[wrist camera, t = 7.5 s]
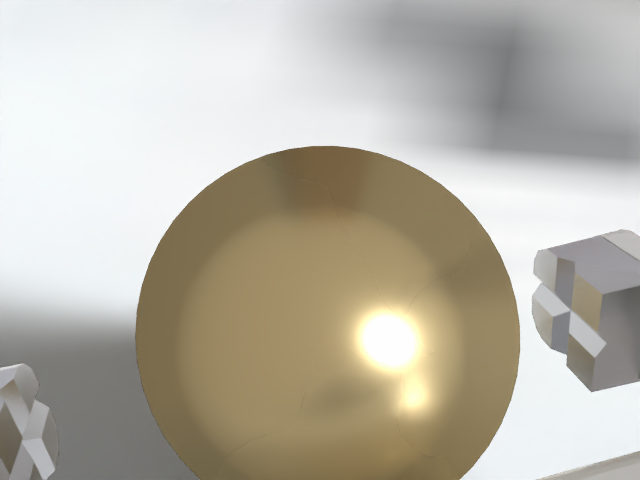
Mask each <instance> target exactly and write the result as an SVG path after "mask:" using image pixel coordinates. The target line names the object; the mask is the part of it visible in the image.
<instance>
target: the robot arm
mask: <svg viewBox="0 0 640 480" xmlns="http://www.w3.org/2000/svg"><path fill="white" fill-rule="evenodd" d="M533 273H534V275H535V276H536V277H537V278H538V279H539V280H540V282H541V284H540V285H539V287H538V288H537V290H536V291H535V293H534V294H533V296H532V315H533V318H534V322H535V325H536V329H537V330H538V332H539V334H540V336H541V338H542V339H543V340H544V342H545V343H546V344H547V345H548V346H549V347H550V348H551V349H553V350H556V351H558V352H561V353H563V354H566V355H567V364H566V366H567V367H568V368H569V369H570V370H571V371H572V372H573V373H574V374H575V375H576V376H577V377H578V379H579V380H580V381H581V382H582V383H583V384H584V385H585V386H586V387H587V388H588V389H589V390H590V391H591V392H594V391H599V390H603V389H608V388H612V387H616V386H621V385H625V384H630V383H634V382H638V381H640V236H638V235H637V234H635V233H633V232H632V231H628V230H618V231H614V232H610V233H606V234H603V235H599V236H595V237H592V238H588V239H584V240H580V241H576V242H572V243H568V244H564V245H560V246H555V247H551V248H547V249H543V250H539V251H538V252H537V254H536V257H535V259H534V272H533ZM38 388H39V383H38V381H37V379H36V377H35V374H34V372H33V370H32V368H31V367H29V366H28V365H26V364H24V363H22V364H17V365H12V366H7V367H2V368H0V480H46V479H47V478H48V477H49V476H50V475H51V474H52V473H53V472H54V471H55V470H56V465H57V460H58V456H59V439H58V431H57V427H56V423H55V419H54V417H53V415H52V412H51V410H50V407H48V406H46V405H44V404H43V403H41V402H39V401H37V400H36V399H35V398H36V394H37V391H38ZM536 480H640V451H638V452H634V453H631V454H627V455H624V456H620V457H616V458H613V459H609V460H605V461H602V462H598V463H594V464H591V465H587V466H583V467H580V468H576V469H572V470H569V471H565V472H561V473H558V474H554V475H551V476H547V477H543V478H540V479H536Z"/></svg>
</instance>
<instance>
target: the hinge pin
mask: <svg viewBox="0 0 640 480" xmlns="http://www.w3.org/2000/svg"><path fill="white" fill-rule="evenodd" d="M135 338H136V351H137V363H138V368H139V372H140V377H141V382H142V386H143V390H144V392H145V395H146V398H147V401H148V403H149V406H150V409H151V412H152V414H153V416H154V418H155V420H156V422H157V424H158V425H159V427H160V429H161V431H162V433H163V435H164V437H165V438H166V440H167V441H168V442H169V444H170V445H171V447H172V448H173V449H174V451H175V452H176V454H177V455H178V456H179V458H180V459H181V460H182V461H183V462H184V463H185V464H186V465H187V466H188V467H189V468H190V470H191V471H192V472H193V473H194V474H195V475H196V476H197V477H198V478H199V479H200V480H459V479H460V478H462V477H463V476H464V475H465V474H466V473H467V472H468V471H469V470H470V469H471V468H472V467H473V466H474V464H475V463H476V462H477V460H478V459H479V458H480V456H481V455H482V454H483V453H484V451H485V450H486V449H487V447H488V446H489V444H490V443H491V441H492V439H493V437H494V436H495V434H496V432H497V430H498V429H499V427H500V425H501V423H502V421H503V418H504V416H505V413H506V411H507V408H508V406H509V403H510V401H511V398H512V394H513V390H514V386H515V382H516V378H517V372H518V364H519V355H520V325H519V318H518V311H517V304H516V299H515V295H514V292H513V288H512V285H511V281H510V278H509V275H508V273H507V270H506V268H505V266H504V263H503V261H502V258H501V256H500V254H499V252H498V251H497V249H496V247H495V245H494V244H493V242H492V240H491V238H490V237H489V235H488V233H487V232H486V231H485V229H484V228H483V227H482V225H481V224H480V223H479V221H478V220H477V219H476V217H475V216H474V215H473V214H472V213H471V212H470V211H469V210H468V209H467V207H466V206H465V205H464V204H463V203H462V202H461V201H460V200H459V199H458V198H457V197H455V196H454V195H453V194H452V193H451V192H449V191H448V190H447V189H446V188H445V187H444V186H442V185H441V184H440V183H438V182H437V181H435V180H434V179H432V178H430V177H429V176H427V175H426V174H424V173H423V172H421V171H419V170H417V169H415V168H413V167H411V166H409V165H407V164H405V163H403V162H401V161H398V160H396V159H393V158H390V157H387V156H384V155H382V154H378V153H374V152H370V151H365V150H361V149H356V148H347V147H338V146H310V147H302V148H294V149H288V150H284V151H280V152H276V153H272V154H268V155H265V156H262V157H260V158H257V159H255V160H252V161H249V162H247V163H245V164H243V165H241V166H239V167H237V168H235V169H233V170H231V171H230V172H228V173H226V174H224V175H223V176H221V177H220V178H219V179H217V180H216V181H214V182H213V183H211V184H210V185H209V186H207V187H206V188H205V189H204V190H203V191H201V192H200V193H199V194H198V195H197V196H196V197H195V198H194V199H193V200H191V201H190V202H189V203H188V204H187V206H186V207H185V208H184V209H183V210H182V211H181V213H180V214H179V215H178V216H177V217H176V218H175V220H174V221H173V222H172V224H171V225H170V227H169V228H168V230H167V231H166V233H165V234H164V236H163V237H162V239H161V240H160V242H159V244H158V246H157V249H156V251H155V253H154V255H153V257H152V259H151V261H150V263H149V266H148V269H147V272H146V275H145V278H144V281H143V284H142V287H141V292H140V298H139V303H138V308H137V318H136V335H135Z"/></svg>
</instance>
